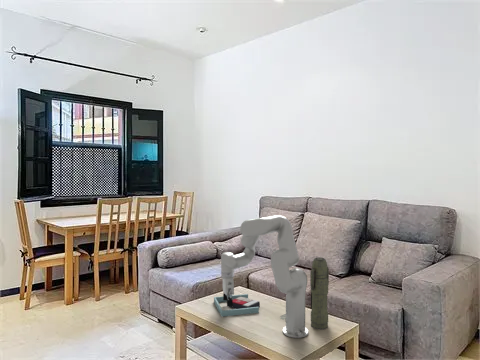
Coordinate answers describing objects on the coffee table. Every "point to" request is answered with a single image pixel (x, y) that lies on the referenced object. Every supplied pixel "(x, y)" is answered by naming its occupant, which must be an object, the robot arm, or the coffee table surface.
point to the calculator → (245, 303)
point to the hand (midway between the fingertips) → (227, 303)
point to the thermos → (319, 293)
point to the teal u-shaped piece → (234, 311)
